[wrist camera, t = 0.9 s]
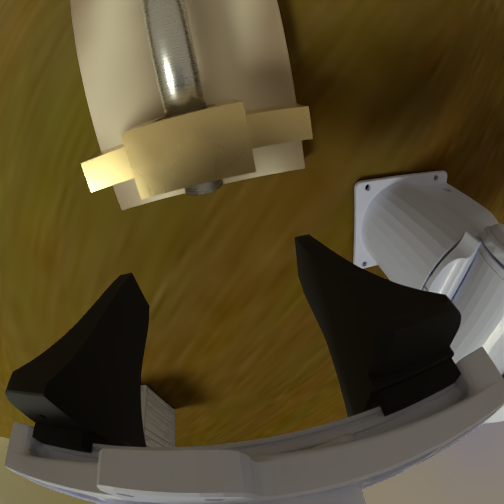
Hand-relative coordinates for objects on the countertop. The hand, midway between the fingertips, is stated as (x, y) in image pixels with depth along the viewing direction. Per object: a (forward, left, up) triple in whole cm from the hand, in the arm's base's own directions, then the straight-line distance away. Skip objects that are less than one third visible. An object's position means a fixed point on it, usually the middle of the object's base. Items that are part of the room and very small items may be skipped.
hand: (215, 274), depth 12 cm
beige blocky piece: (0, -11, -8) cm, 14 cm away
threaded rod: (0, -10, -5) cm, 11 cm away
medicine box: (+16, +25, -9) cm, 30 cm away
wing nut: (0, -5, -7) cm, 8 cm away
